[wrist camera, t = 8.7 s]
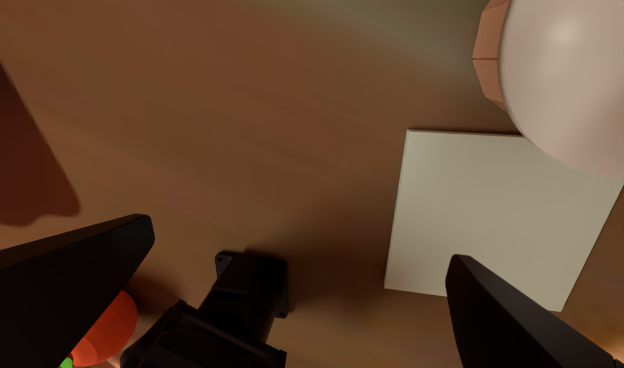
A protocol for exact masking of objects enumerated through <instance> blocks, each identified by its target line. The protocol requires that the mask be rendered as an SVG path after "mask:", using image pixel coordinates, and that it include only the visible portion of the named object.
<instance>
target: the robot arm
mask: <svg viewBox="0 0 624 368" xmlns="http://www.w3.org/2000/svg"><path fill="white" fill-rule="evenodd" d="M154 241H155V235H154V231H153V226H152V221H151V218H150V217H149V216H148V215H144V214H132V215H128V216H124V217H121V218H117V219H113V220H110V221H106V222H102V223H98V224H95V225H91V226H87V227H84V228H80V229H76V230H73V231H69V232H65V233H61V234H58V235H54V236H50V237H47V238H43V239H39V240H36V241H32V242H28V243H24V244H21V245H17V246H13V247H10V248H6V249H2V250H0V368H58V367H59V366H60V365H61V364H62V362H63V361H64V360H65V359H66V358H67V356H68V355H69V354H70V353H71V352H72V350H73V349H74V348H75V347H76V345H77V344H78V343H79V342H80V341H81V339H82V338H83V337H84V336H85V335H86V333H87V332H88V331H89V330H90V328H91V327H92V326H93V325H94V324H95V322H96V321H97V320H98V319H99V318H100V316H101V315H102V314H103V313H104V311H105V310H106V309H107V308H108V307H109V305H110V304H111V303H112V302H113V301H114V299H115V298H116V297H117V296H118V294H119V293H120V292H121V291H122V289H123V288H124V287H125V286H126V284H127V283H128V281H129V280H130V279H131V277H132V276H133V274H134V273H135V271H136V270H137V268H138V267H139V265H140V264H141V262H142V261H143V260H144V258H145V257H146V255H147V254H148V252H149V251H150V249H151V248H152V246H153V244H154ZM220 257H221V258H222V259H221V258H220ZM215 264H216V271H217V280H216V281H215V283H214V284H213V286H212V288H211V290H210V292H209V293H208V295H207V296H206V298H205V299H204V301H203V302H202V304H201V305H200V307H199V308H198V309H196V308H194V307H192V306H190V305H188V304H187V302H185V301H183V300H181V299H180V300H179V301H178V302H177V303H176V304H175V305H174V306H173V307H172V306H171V307H170V308H169V309H168V310H167V311H165V312H164V313H163V315H162V316H161V317H160V318H159V320H158V321H157V322H156V323H155V324H154V325H153V326H152V327H151V328H150V329H149V330H148V331H147V332H146V333H145V334H144V335H143V336H142V337H141V338H139V339H138V340H137V341H136V342H134V343H133V344H132V345H131V346H129V347H128V348H127V349H126V350H125V351H124V352H123V354H122V355H121V357H120V368H285V363H286V355H287V352H285V351H283V350H281V349H280V350H278V349H276V348H274V347H272V346H270V345H268V344H266V341H267V338H268V335H269V332H270V329H271V327H272V324H273V321H274V318H275V317H276V318H286V317H287V315H288V273H287V263H286V261H284V260H280V259H272V258H265V257H257V256H249V255H241V254H233V253H225V252H219V253H217V255H216V256H215ZM280 265H282V266H283V267H281V266H280ZM445 288H446V293H447V299H448V304H449V310H450V315H451V321H452V326H453V332H454V336H455V341H456V344H457V348H458V352H459V355H460V358H461V361H462V365H463V368H624V364H623V363H622V362H620V361H619V360H617V359H614V360H613V357H612V355H610V354H609V353H607V352H606V351H605V350H603V349H602V348H600V347H599V346H597V345H596V344H595V343H593V342H592V341H590V340H589V339H588V338H586V337H585V336H583V335H582V334H580V333H579V332H578V331H576V330H575V329H573V328H572V327H571V326H569V325H568V324H566V323H565V322H563V321H562V320H561V319H559V318H558V317H556V316H555V315H553V314H552V313H551V312H549V311H548V310H546V309H545V308H544V307H542V306H541V305H539V304H538V303H536V302H535V301H534V300H532V299H531V298H529V297H528V296H527V295H525V294H524V293H522V292H521V291H519V290H518V289H517V288H515V287H514V286H512V285H511V284H509V283H508V282H507V281H505V280H504V279H502V278H501V277H500V276H498V275H497V274H495V273H494V272H492V271H491V270H490V269H488V268H487V267H485V266H484V265H483V264H481V263H480V262H478V261H477V260H475V259H474V258H473V257H471V256H469V255H462V254H454V255H452V257H451V260H450V263H449V267H448V270H447V274H446V278H445Z"/></svg>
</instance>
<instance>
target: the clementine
mask: <svg viewBox="0 0 624 368" xmlns="http://www.w3.org/2000/svg"><path fill="white" fill-rule="evenodd" d="M136 324H137V307H136V305H135V302H134V300H133V299H132V297H131V296H130V295H129V294H128V293H127V292H125V291H124V290H122V291H121V292H120V293H119V294H118V296H117V297H116V298H115V299H114V301H113V302H112V303H111V304H110V305H109V307H108V308H107V309H106V310H105V311H104V313H103V314H102V315H101V316H100V318H99V319H98V320H97V321H96V322H95V324H94V325H93V326H92V327H91V328H90V330H89V331H88V332H87V333H86V335H85V336H84V337H83V338H82V339H81V341H80V342H79V343H78V344H77V345H76V347H75V348H74V349H73V350H72V352H71V353H70V354H69V355H68V356H67V358H66V359H65V360H64V361H63V362H62V364H61V365H60V366H61V367H62V368H73V366H88V367H86V368H89V367H90V366H92V365H93V364H97V363H99V362H103V361H105V360H107V359H108V358H110V357H112V356H113V355H115V354H116V353H117V352H118V351H119V350H120V349H121V348H123V347H124V346H125V345H126V344H127V342H128V340H129V339H130V337H131V336H132V334H133V332H134V330H135V327H136Z"/></svg>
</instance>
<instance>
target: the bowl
mask: <svg viewBox="0 0 624 368" xmlns="http://www.w3.org/2000/svg"><path fill="white" fill-rule="evenodd" d="M509 3H510V0H490V1H489V3H488V4H487V5H486V7H485V8H484V9H483V10H484V12H482V15H481V19H480V24H479V28H478V33H477V37H476V42H475V46H474V51H473V55H472V58H475V59H473V60H472V61H473V64H474V67H475V70H476V73H477V76H478V79H479V82H480V85H481V88H482V91H483V93H484V96H486V97H485V98H487V99H488V100H490V101H491V102H493V103H494V104H496V105H497V106H499V107H500V108H501V109H503V110H504V111H506V112H507V109H506V107H505V105H504V102H503V99H502V95H501V91H500V87H499V80H498V69H497V62H498V46H499V40H500V35H501V29H502V25H503V22H504V18H505V15H506V12H507V8H508V5H509ZM507 113H508V112H507Z"/></svg>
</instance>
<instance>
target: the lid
mask: <svg viewBox="0 0 624 368" xmlns="http://www.w3.org/2000/svg"><path fill="white" fill-rule="evenodd" d="M497 69H498V80H499V87H500V91H501V95H502V99H503V102H504V105H505V107H506V109H507V112H508V114H509V116H510V118H511V120H512V121H513V123H514V124H515V126H516V127H517V129H518V130H519V131H520V132H521V133H522V135H523V136H524V137H525V138H526V139H527V140H528V141H529V142H530V143H532V144H533V145H534V146H535V147H537V148H538V149H539V150H540V151H542V152H544V153H546V154H547V155H549V156H551V157H553V158H555V159H556V160H558V161H560V162H562V163H564V164H566V165H568V166H571V167H573V168H576V169H579V170H581V171H585V172H589V173H593V174H597V175H602V176H610V177H619V178H624V0H510V3H509V5H508V8H507V12H506V15H505V18H504V22H503V25H502V29H501V35H500V40H499V46H498V62H497Z"/></svg>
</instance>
